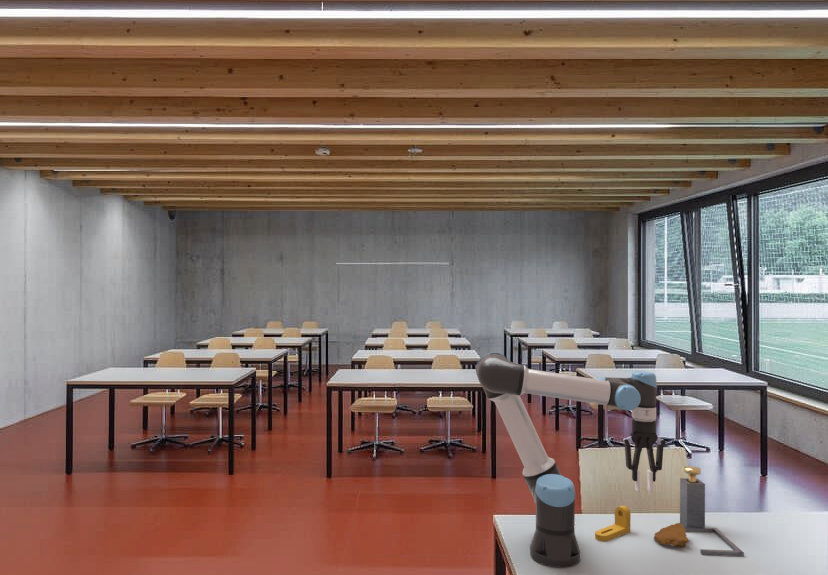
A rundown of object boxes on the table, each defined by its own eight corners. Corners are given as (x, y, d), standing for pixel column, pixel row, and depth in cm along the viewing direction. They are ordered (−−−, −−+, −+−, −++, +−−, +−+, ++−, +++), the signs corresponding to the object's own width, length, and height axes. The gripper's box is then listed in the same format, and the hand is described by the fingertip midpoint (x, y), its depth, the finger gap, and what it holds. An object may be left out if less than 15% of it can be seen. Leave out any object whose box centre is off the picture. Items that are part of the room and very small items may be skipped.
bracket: (619, 527, 202) (619, 503, 202) (630, 532, 198) (630, 507, 198) (592, 538, 193) (592, 513, 193) (603, 543, 189) (603, 517, 189)
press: (701, 554, 181) (702, 503, 181) (671, 523, 206) (671, 477, 206) (743, 556, 180) (743, 504, 180) (707, 524, 205) (707, 478, 205)
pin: (687, 494, 200) (687, 470, 200) (681, 489, 205) (681, 465, 205) (703, 495, 200) (703, 470, 200) (696, 490, 205) (696, 466, 205)
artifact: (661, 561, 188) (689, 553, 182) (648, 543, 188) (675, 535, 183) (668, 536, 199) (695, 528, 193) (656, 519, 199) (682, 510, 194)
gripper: (621, 421, 187) (621, 494, 187) (674, 422, 186) (673, 495, 186) (615, 416, 195) (614, 486, 195) (665, 417, 194) (665, 487, 194)
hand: (643, 490), depth 190 cm, fingers open, 3 cm apart
